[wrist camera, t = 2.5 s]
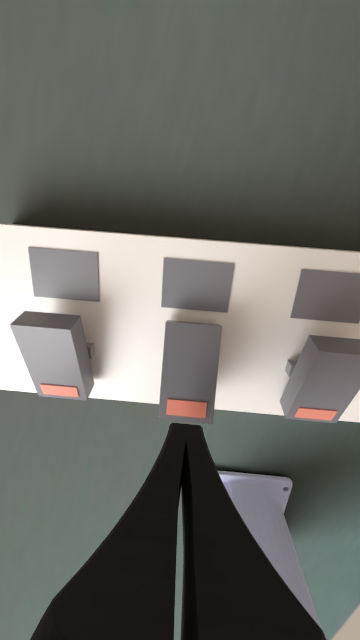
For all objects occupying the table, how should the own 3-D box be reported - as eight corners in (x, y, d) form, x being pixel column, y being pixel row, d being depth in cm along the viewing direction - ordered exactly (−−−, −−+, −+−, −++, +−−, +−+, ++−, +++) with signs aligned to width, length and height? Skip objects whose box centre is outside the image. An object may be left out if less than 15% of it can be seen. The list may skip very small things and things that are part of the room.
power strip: (344, 390, 19) (384, 431, 15) (-20, 357, 19) (-73, 389, 15) (392, 253, 15) (459, 260, 11) (-50, 219, 16) (-128, 214, 12)
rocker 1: (94, 383, 15) (86, 401, 14) (49, 379, 15) (37, 397, 14) (80, 315, 12) (69, 330, 11) (24, 310, 12) (8, 325, 11)
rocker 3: (326, 405, 15) (336, 424, 14) (279, 400, 15) (285, 419, 14) (367, 339, 12) (383, 357, 11) (308, 334, 12) (319, 352, 11)
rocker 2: (210, 413, 14) (212, 424, 12) (160, 408, 14) (157, 419, 13) (218, 324, 13) (222, 326, 12) (167, 319, 13) (165, 322, 12)
